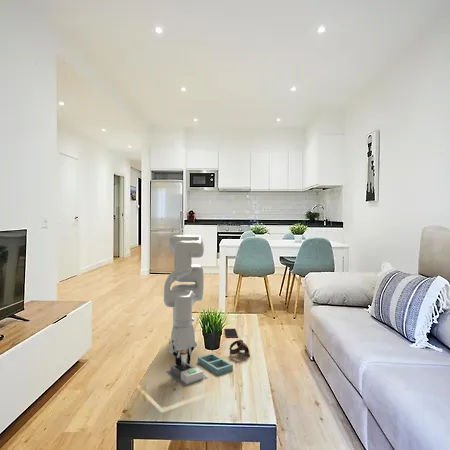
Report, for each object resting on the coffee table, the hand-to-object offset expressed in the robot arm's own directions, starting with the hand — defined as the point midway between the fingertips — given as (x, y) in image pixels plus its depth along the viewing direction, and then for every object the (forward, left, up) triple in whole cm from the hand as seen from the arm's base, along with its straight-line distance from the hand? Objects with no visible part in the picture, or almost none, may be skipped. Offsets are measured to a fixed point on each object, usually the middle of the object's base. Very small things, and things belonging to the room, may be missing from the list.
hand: (182, 363), depth 153 cm
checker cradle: (+3, 0, -5) cm, 6 cm away
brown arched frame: (-3, +34, -5) cm, 35 cm away
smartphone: (-30, +50, -5) cm, 58 cm away
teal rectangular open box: (+3, +15, -5) cm, 16 cm away
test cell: (0, 0, -4) cm, 4 cm away
